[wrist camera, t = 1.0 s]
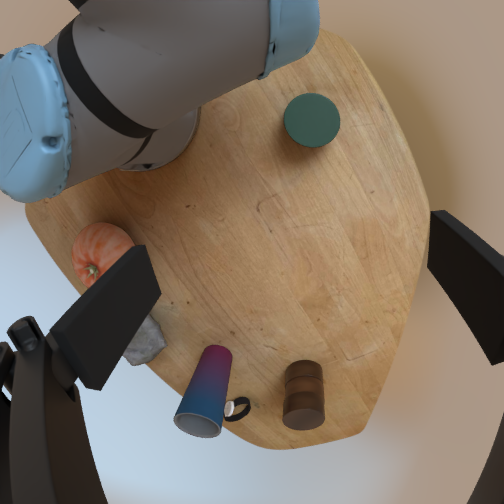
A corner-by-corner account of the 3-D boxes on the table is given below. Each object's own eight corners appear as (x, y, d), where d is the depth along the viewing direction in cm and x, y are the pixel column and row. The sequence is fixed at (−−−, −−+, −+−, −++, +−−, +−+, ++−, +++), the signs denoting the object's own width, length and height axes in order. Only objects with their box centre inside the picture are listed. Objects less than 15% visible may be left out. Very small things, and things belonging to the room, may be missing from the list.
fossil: (158, 293, 45) (137, 324, 38) (187, 335, 48) (172, 369, 41) (112, 309, 48) (90, 337, 41) (140, 347, 52) (123, 377, 44)
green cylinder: (274, 125, 33) (272, 126, 30) (303, 85, 31) (304, 82, 27) (316, 154, 34) (318, 158, 31) (345, 115, 31) (351, 115, 28)
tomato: (90, 206, 40) (58, 226, 33) (151, 225, 40) (125, 249, 33) (89, 267, 45) (63, 291, 38) (145, 287, 45) (123, 317, 38)
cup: (230, 338, 47) (210, 413, 34) (242, 367, 50) (227, 438, 37) (192, 342, 49) (165, 412, 35) (206, 369, 52) (185, 436, 38)
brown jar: (277, 374, 50) (272, 422, 41) (301, 353, 47) (301, 404, 38) (306, 388, 51) (306, 435, 42) (331, 369, 48) (335, 418, 39)
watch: (220, 424, 53) (215, 410, 56) (239, 423, 56) (233, 409, 58) (238, 406, 50) (232, 391, 53) (258, 405, 53) (251, 390, 56)
